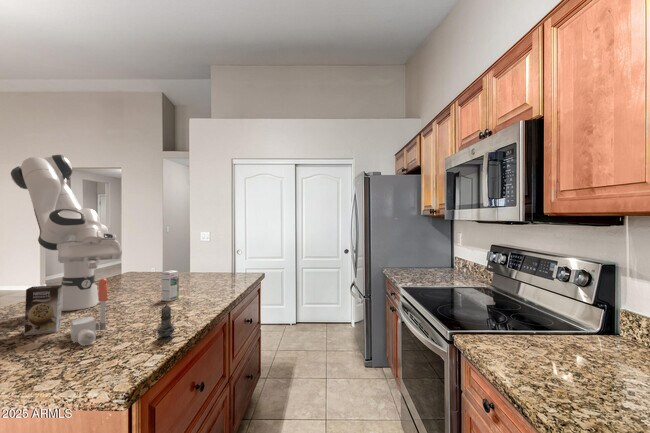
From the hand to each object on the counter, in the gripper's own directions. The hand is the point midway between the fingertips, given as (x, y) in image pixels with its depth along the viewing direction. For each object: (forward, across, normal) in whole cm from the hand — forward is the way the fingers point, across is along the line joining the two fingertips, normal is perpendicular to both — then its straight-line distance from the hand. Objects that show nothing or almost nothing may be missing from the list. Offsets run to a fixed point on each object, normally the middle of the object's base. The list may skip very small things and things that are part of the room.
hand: (92, 267), depth 122 cm
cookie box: (+12, -14, +19) cm, 27 cm away
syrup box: (-2, +35, +34) cm, 49 cm away
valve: (+24, -4, +7) cm, 26 cm away
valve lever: (+23, +2, +6) cm, 24 cm away
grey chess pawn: (+38, +18, -5) cm, 42 cm away
